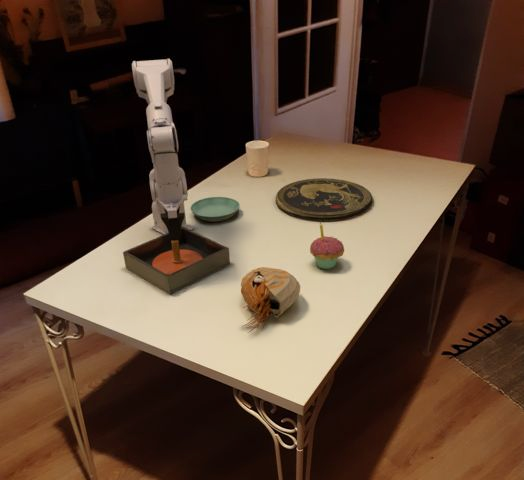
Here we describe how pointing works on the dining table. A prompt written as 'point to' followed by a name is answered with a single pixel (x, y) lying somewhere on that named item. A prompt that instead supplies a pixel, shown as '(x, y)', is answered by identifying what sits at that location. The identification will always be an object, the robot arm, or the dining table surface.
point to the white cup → (257, 158)
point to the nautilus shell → (269, 292)
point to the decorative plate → (324, 199)
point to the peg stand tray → (212, 261)
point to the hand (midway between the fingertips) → (175, 232)
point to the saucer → (215, 208)
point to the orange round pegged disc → (175, 259)
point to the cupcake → (326, 250)
